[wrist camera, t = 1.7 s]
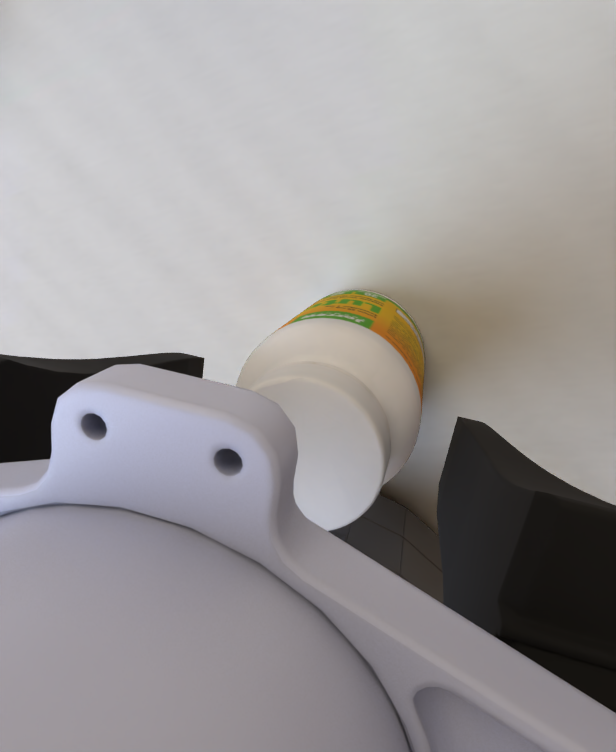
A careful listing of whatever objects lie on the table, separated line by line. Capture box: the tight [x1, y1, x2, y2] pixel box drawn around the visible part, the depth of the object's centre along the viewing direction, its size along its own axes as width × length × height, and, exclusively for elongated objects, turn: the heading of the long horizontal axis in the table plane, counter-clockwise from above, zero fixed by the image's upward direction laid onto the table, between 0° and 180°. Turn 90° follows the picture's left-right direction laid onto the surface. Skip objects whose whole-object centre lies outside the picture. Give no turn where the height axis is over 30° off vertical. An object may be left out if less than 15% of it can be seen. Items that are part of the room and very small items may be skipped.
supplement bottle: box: [236, 289, 425, 531], centre depth 16 cm, size 5×5×10 cm
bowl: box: [328, 494, 443, 604], centre depth 22 cm, size 13×13×5 cm
